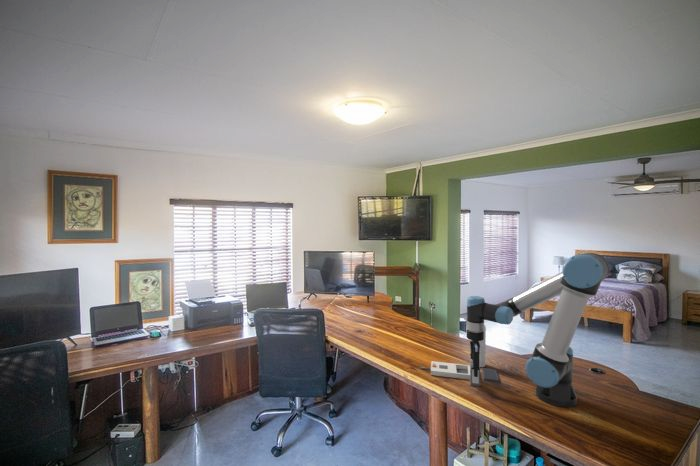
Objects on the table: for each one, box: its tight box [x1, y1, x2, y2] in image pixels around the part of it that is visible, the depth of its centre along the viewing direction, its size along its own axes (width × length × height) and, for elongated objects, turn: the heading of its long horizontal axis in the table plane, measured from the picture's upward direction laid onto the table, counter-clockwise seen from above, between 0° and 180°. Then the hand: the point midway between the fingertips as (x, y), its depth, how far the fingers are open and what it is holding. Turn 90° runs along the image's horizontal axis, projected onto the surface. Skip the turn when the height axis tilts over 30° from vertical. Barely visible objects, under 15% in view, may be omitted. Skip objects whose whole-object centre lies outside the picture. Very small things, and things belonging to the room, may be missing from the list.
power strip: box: [419, 360, 471, 381], centre depth 169 cm, size 28×12×3 cm, turn 75°
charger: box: [469, 364, 481, 388], centre depth 156 cm, size 4×4×8 cm
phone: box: [481, 367, 500, 383], centre depth 164 cm, size 6×12×2 cm, turn 163°
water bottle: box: [478, 324, 487, 368], centre depth 178 cm, size 9×6×25 cm
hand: (474, 378), depth 157 cm, fingers open, 9 cm apart
